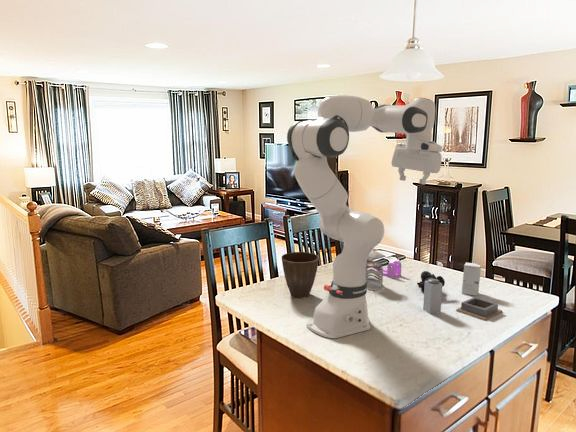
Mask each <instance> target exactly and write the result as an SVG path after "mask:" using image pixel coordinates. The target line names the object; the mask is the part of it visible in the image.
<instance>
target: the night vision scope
mask: <svg viewBox="0 0 576 432" xmlns="http://www.w3.org/2000/svg"><path fill="white" fill-rule="evenodd" d="M420 279H421V281H420V282H417V283H416V285H417V286H418V288H419V289H420V290H421V291H422V292H424V285H425V281H428V279H438V280H439V282H440V283H442V288H443V287H444V286H445V284H446V283H445V279H444V277H443V276H441V275H438V276H437V277H436V275H435V274H434V273H431V272H429V271H427V270H424V271H422V272H421V274H420Z"/></svg>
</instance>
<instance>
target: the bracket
mask: <svg viewBox="0 0 576 432" xmlns="http://www.w3.org/2000/svg"><path fill="white" fill-rule="evenodd" d="M373 269H374V268H373ZM374 270H375V271H378V270H376V269H374ZM401 276H402V262H401V261H400V260H394V261H391V262H389V263H388V264H387V267H386V268H383V277H387V278H391V279H396V278H399V277H401Z"/></svg>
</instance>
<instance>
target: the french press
mask: <svg viewBox="0 0 576 432" xmlns="http://www.w3.org/2000/svg"><path fill="white" fill-rule="evenodd" d="M384 257H385V256H384V254H383V253H382V252H379V251H375V250H371V252H370V254H369V256H368V259H373V261H368V262H367V264H366V283H367V291H380V290H381V291H382V290H384V289H385V287H386V286H385V285H384V284H383V277H384V276H383V269H384V267H382V266H383V264H382V263H380V262H378V261H375V260H376V259H377V260H379V259H382V258H384ZM374 269H376V270H378V271H375V270H374Z"/></svg>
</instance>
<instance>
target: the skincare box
mask: <svg viewBox="0 0 576 432" xmlns="http://www.w3.org/2000/svg"><path fill="white" fill-rule="evenodd" d="M481 270H482V264H479V263H474V262H465V264H464V265H463V277H462V285H461V287H462V288H461V294H464V295H465V294H466V295H470V296H474V297H476V296H478V294H479V289H480V280H481V279H480V278H481V272H482V271H481Z"/></svg>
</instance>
